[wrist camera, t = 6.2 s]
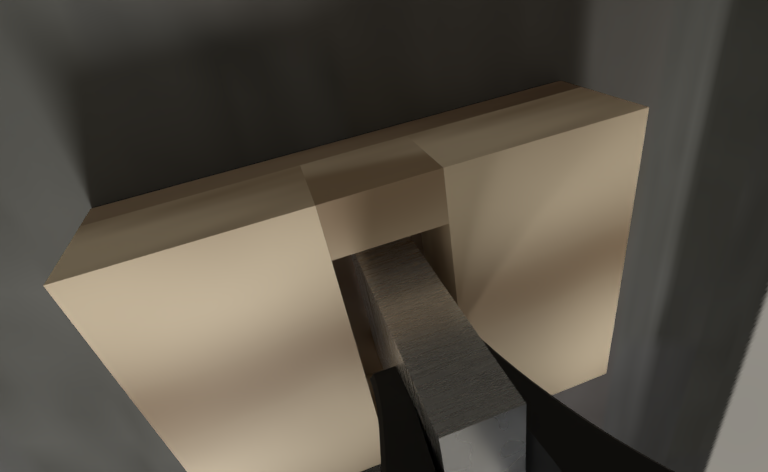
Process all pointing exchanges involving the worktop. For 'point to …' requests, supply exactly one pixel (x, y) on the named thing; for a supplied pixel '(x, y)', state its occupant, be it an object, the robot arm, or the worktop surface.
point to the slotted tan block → (338, 276)
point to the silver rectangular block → (441, 363)
